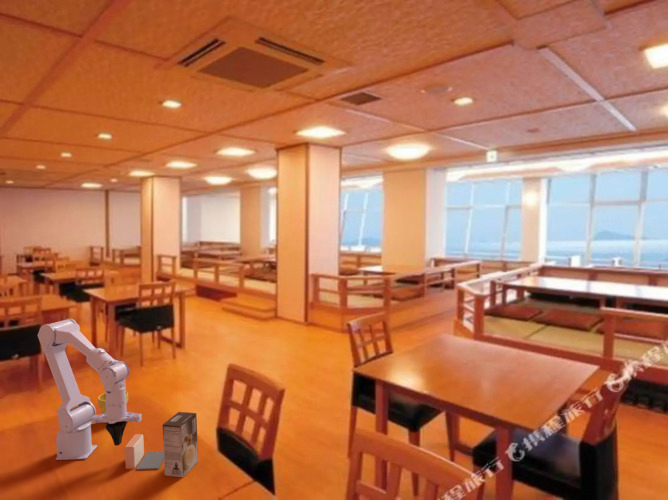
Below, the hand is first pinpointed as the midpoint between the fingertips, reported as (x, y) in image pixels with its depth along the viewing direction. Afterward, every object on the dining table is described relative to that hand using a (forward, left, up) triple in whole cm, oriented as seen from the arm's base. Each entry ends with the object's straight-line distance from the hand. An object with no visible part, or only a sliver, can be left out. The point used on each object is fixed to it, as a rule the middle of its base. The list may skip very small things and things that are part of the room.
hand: (118, 443), depth 141 cm
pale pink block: (+5, 0, -6) cm, 8 cm away
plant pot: (-14, +30, -6) cm, 34 cm away
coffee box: (+21, -5, -6) cm, 22 cm away
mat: (+11, 0, -6) cm, 12 cm away
